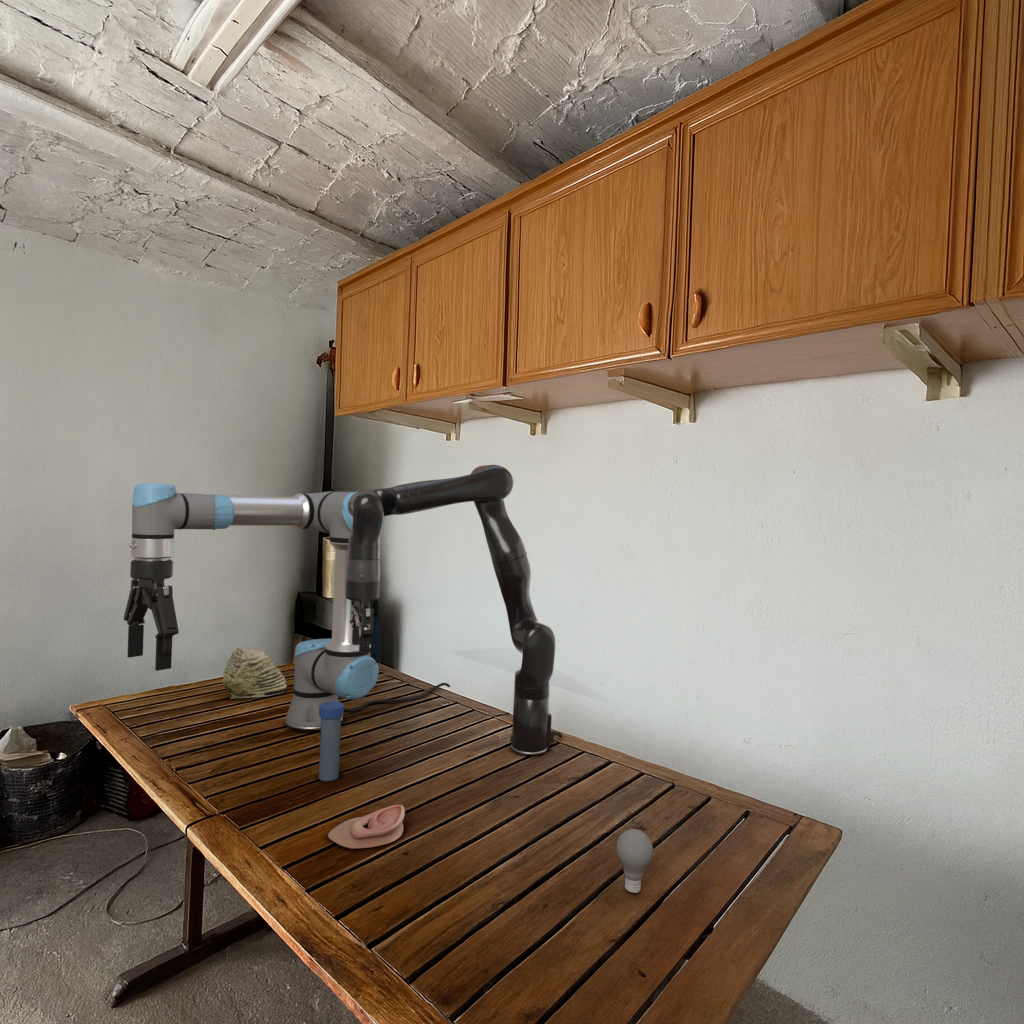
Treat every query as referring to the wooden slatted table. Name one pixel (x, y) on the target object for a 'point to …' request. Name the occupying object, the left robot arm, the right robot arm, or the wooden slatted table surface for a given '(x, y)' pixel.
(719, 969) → the wooden slatted table surface
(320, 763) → the jar
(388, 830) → the anatomical model
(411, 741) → the wooden slatted table surface
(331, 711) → the lid
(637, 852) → the light bulb
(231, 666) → the fossil
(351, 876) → the wooden slatted table surface
